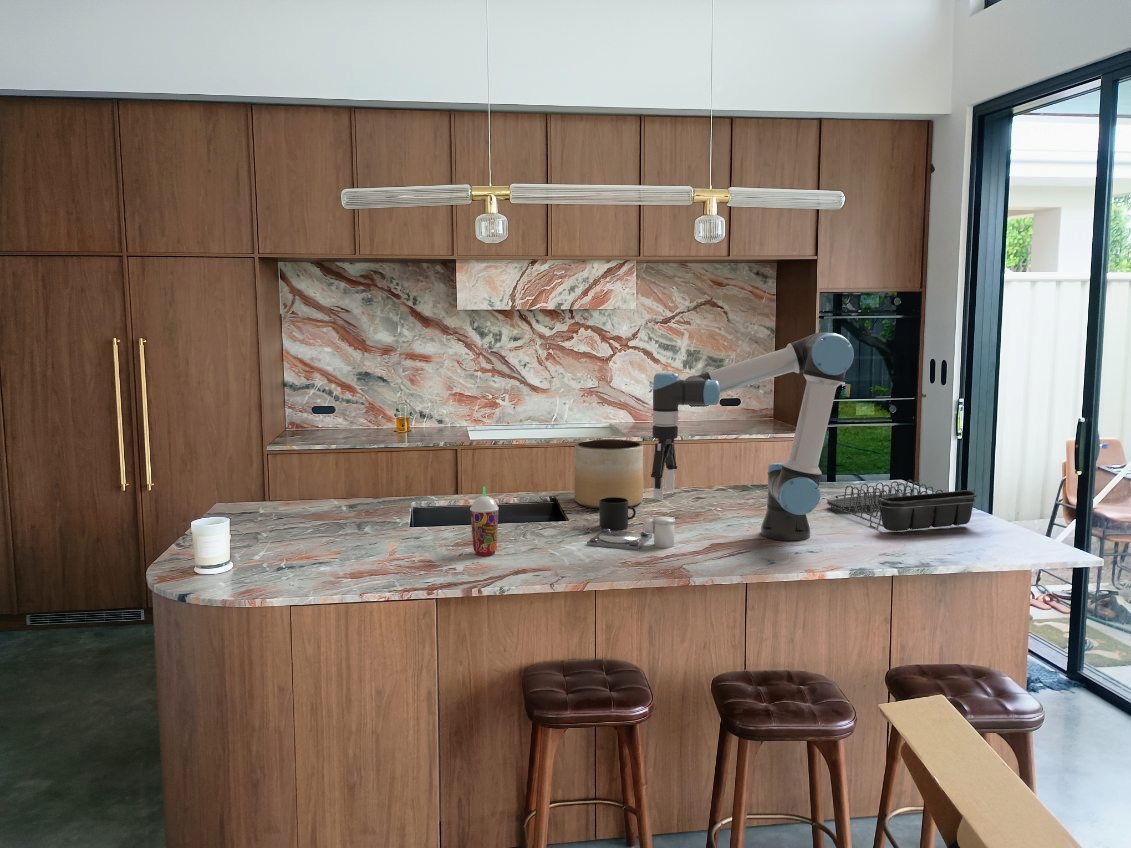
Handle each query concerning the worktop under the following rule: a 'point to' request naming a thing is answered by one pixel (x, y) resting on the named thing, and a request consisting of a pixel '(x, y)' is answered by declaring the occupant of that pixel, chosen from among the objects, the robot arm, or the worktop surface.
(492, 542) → the smoothie
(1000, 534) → the worktop surface
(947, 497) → the dish rack
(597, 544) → the duct flange
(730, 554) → the worktop surface
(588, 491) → the planter
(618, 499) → the mug
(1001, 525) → the worktop surface
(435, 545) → the worktop surface
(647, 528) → the elbow
